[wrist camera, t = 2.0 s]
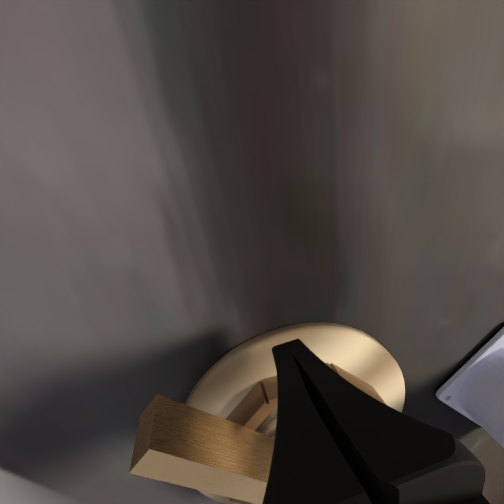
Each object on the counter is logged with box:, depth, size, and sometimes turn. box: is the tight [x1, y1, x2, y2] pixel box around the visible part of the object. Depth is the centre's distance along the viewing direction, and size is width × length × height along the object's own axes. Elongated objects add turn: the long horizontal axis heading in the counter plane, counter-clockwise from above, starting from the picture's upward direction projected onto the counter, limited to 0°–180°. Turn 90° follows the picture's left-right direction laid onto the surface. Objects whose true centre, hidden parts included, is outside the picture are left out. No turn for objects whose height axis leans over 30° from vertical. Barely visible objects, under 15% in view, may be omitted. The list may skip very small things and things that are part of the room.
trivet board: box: [185, 322, 405, 504], centre depth 18 cm, size 16×16×2 cm
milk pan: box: [129, 394, 277, 504], centre depth 15 cm, size 15×8×5 cm, turn 51°
